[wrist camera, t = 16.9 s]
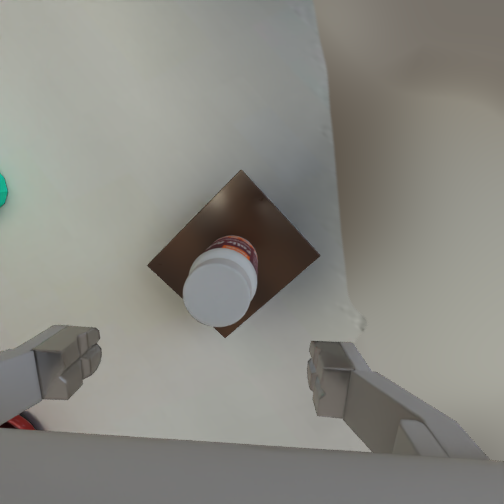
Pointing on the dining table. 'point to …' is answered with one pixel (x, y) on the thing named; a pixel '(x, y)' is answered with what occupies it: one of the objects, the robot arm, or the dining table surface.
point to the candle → (2, 190)
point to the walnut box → (248, 227)
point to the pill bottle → (222, 282)
